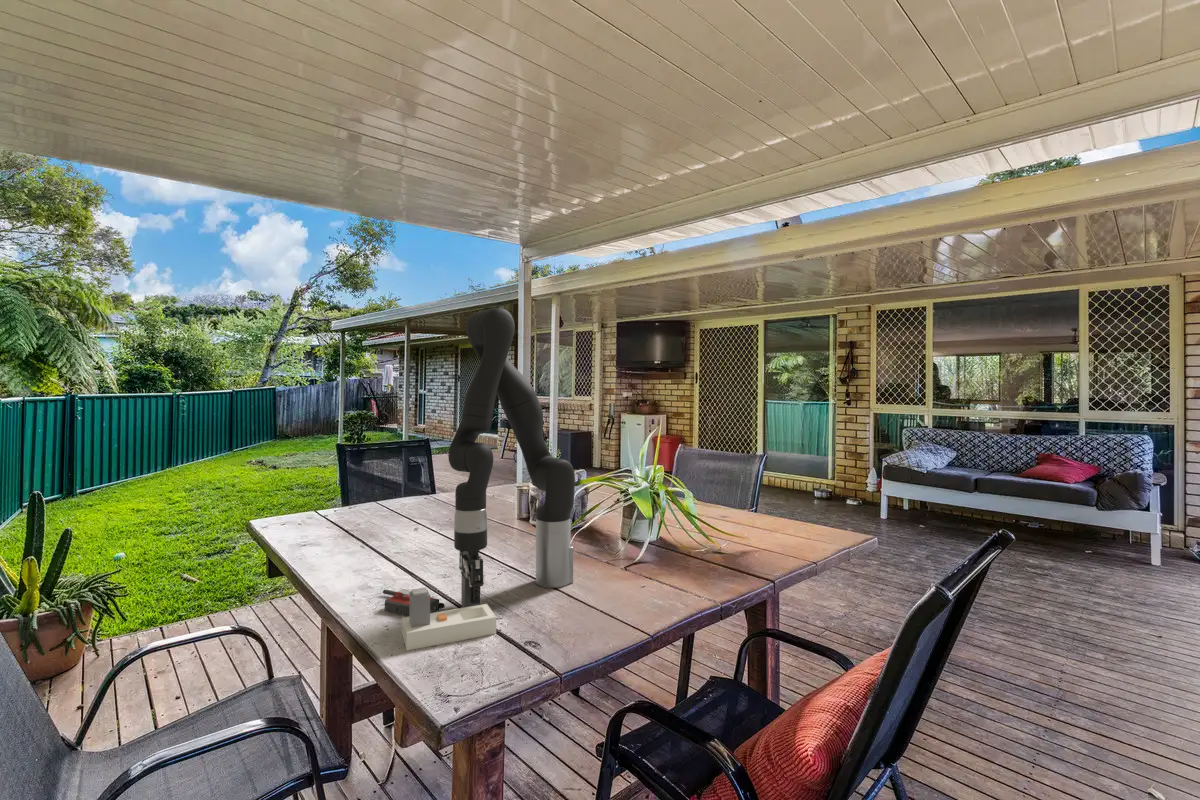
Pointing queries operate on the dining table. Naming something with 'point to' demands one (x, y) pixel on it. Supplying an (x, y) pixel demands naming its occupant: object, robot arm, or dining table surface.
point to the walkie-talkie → (406, 603)
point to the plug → (466, 592)
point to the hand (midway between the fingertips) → (470, 596)
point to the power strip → (443, 622)
